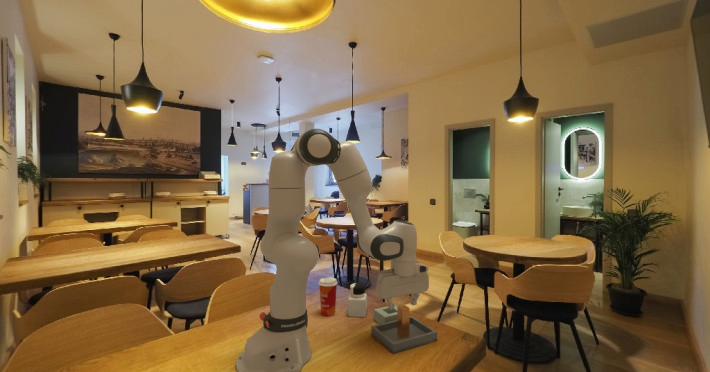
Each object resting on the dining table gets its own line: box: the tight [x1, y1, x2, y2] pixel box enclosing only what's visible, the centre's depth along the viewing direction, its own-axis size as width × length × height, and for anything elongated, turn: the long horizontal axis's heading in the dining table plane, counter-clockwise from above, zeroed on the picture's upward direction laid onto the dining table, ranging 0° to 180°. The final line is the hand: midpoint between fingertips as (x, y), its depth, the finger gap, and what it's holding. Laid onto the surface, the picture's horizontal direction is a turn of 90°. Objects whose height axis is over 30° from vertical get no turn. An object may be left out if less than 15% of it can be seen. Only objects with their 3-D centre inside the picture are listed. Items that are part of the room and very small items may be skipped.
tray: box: [370, 315, 438, 355], centre depth 113 cm, size 18×14×3 cm
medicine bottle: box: [347, 282, 368, 318], centre depth 132 cm, size 7×7×12 cm
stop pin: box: [396, 304, 411, 338], centre depth 112 cm, size 3×3×10 cm
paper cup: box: [318, 276, 338, 318], centre depth 132 cm, size 8×8×14 cm
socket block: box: [373, 304, 398, 324], centre depth 125 cm, size 10×8×4 cm
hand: (402, 306), depth 112 cm, fingers open, 8 cm apart
